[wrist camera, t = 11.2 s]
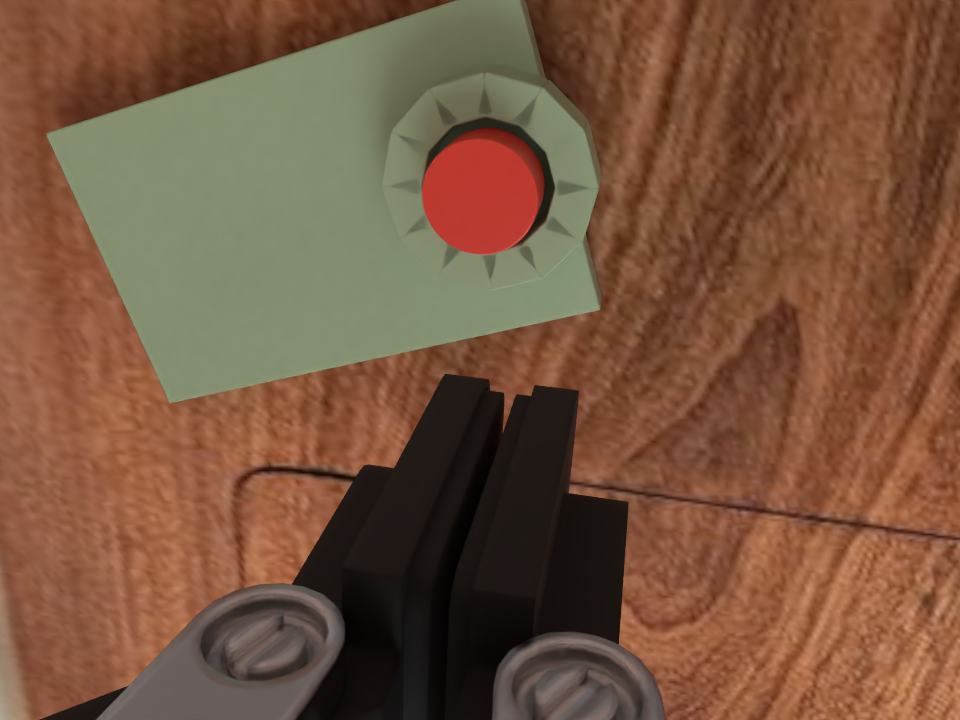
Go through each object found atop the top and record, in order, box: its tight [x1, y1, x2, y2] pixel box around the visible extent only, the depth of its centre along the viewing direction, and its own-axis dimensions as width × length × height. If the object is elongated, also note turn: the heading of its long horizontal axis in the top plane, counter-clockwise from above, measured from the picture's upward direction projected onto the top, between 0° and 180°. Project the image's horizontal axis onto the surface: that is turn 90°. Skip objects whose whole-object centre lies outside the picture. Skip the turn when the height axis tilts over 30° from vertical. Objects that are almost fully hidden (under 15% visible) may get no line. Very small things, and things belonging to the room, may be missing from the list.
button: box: [422, 128, 545, 255], centre depth 25 cm, size 3×3×2 cm
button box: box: [46, 0, 602, 403], centre depth 28 cm, size 17×10×3 cm, turn 107°
